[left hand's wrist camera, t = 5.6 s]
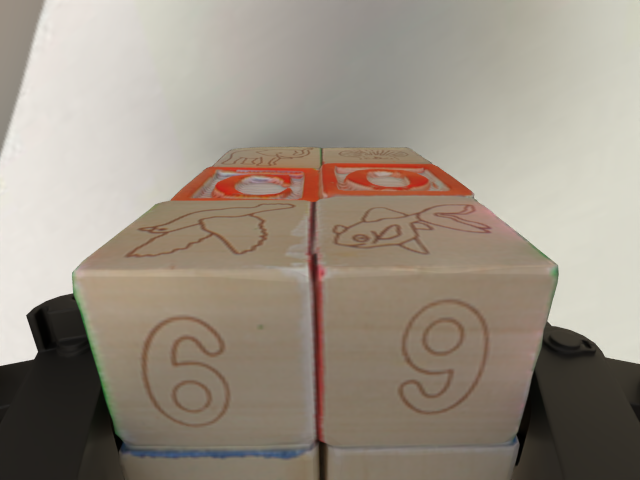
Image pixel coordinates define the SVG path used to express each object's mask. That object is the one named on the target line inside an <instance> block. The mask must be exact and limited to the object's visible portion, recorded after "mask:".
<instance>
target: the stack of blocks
mask: <svg viewBox="0 0 640 480" xmlns="http://www.w3.org/2000/svg"><path fill="white" fill-rule="evenodd" d="M558 275H559V273H558V265H557V264H556V263H555V262H553V261H552V260H551V259H550V258H548V257H547V256H546V255H545V254H543V253H542V252H541V251H540V250H538V249H537V248H536V247H535V246H533V245H532V244H531V243H530V242H529V241H527V240H526V239H525V238H524V237H523V236H521V235H520V234H519V233H518V232H516V231H515V230H514V229H513V228H511V227H510V226H509V225H507V224H506V223H505V222H503V221H502V220H501V219H500V218H498V217H497V216H496V215H495V214H494V213H492V212H491V211H490V210H489V209H488V208H486V207H485V206H484V205H482V204H480V203H479V202H478V201H477V200H475V199H474V193H473V192H472V191H471V190H469V189H468V188H467V187H465V186H464V185H463V184H461V183H460V182H459V181H457V180H456V179H455V178H453V177H452V176H450V175H449V174H447V173H446V172H444V171H443V170H442V169H440V168H439V167H438V166H435V165H433V164H432V163H431V162H429V161H428V160H426V159H425V158H423V157H422V156H421V155H419V154H417V153H416V152H414V151H413V150H412V149H410V148H316V147H254V148H238V149H233V150H230V151H229V152H227V153H226V154H225V155H224V156H223V157H222V158H220V159H219V160H218V161H217V162H216V163H215V164H214V165H213V166H212V167H209V168H206V169H205V170H203V172H202V173H200V174H199V175H198V176H197V177H195V178H194V179H193V180H192V181H191V182H190V183H188V184H187V185H186V186H185V187H183V188H182V189H181V190H180V191H179V192H178V193H177V194H176V195H175V196H174V197H173V198H172V199H171V200H170V201H166V202H162V203H159V204H155V205H154V206H153V207H152V208H151V209H150V210H149V211H147V212H146V213H145V214H143V215H142V216H141V217H140V218H138V219H137V220H136V221H134V222H133V223H132V224H130V225H129V226H128V227H126V228H125V229H124V230H122V231H121V232H120V233H119V234H117V235H116V236H115V237H114V238H112V239H111V240H110V241H108V242H107V243H106V244H105V245H103V246H102V247H101V248H99V249H98V250H97V251H95V252H94V253H93V254H91V255H90V256H89V257H88V258H86V259H85V260H84V261H83V262H82V263H81V264H80V265H79V266H78V267H77V268H76V269H75V270H74V271H73V273H72V281H73V294H74V297H75V299H76V302H77V305H78V307H79V310H80V313H81V317H82V320H83V324H84V327H85V330H86V334H87V337H88V341H89V344H90V348H91V351H92V354H93V357H94V361H95V364H96V367H97V371H98V374H99V377H100V381H101V385H102V389H103V393H104V397H105V400H106V404H107V407H108V410H109V413H110V415H111V418H112V420H113V425H114V430H115V434H116V435H117V436H118V437H119V438H120V439H121V440H122V441H123V442H122V445H121V448H120V451H119V460H120V466H121V469H122V472H123V475H124V478H125V480H511V478H512V474H513V470H514V466H515V463H516V459H517V455H518V450H519V446H520V444H519V441H518V438H517V435H516V434H517V432H518V429H519V426H520V422H521V419H522V415H523V412H524V408H525V404H526V401H527V397H528V393H529V389H530V384H531V379H532V375H533V372H534V368H535V365H536V362H537V359H538V356H539V353H540V350H541V347H542V339H543V331H544V328H545V325H546V322H547V320H548V316H549V312H550V308H551V304H552V301H553V297H554V294H555V290H556V286H557V282H558Z"/></svg>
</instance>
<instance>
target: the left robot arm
mask: <svg viewBox="0 0 640 480" xmlns="http://www.w3.org/2000/svg"><path fill="white" fill-rule="evenodd" d="M26 316H27V319H28V322H29V325H30V328H31V331H32V335H33V338H34V341H35V344H36V347H37V350H38V353H37V355H36V357H35V359H34V360H29V361H24V362H19V363H14V364H8V365H3V366H0V480H125V478H124V475H123V472H122V469H121V466H120V460H119V451H120V448H121V445H122V442H123V441H122V440H121V439H120V438H119V437H118V436H117V435H116V434H115V430H114V425H113V420H112V418H111V415H110V413H109V410H108V407H107V404H106V400H105V397H104V393H103V389H102V385H101V381H100V377H99V374H98V371H97V367H96V364H95V361H94V357H93V354H92V351H91V348H90V344H89V341H88V337H87V334H86V330H85V327H84V324H83V320H82V317H81V313H80V310H79V307H78V305H77V302H76V299H75V297H74V294H68V295H63V296H59V297H57V298H54V299H51V300H48V301H46V302H44V303H42V304H40V305H39V306H37V307H35V308H33V309H32V310H31V311H30V312H29V313H28V314H27V315H26ZM516 435H517V438H518V441H519V444H520V446H519V450H518V455H517V459H516V463H515V466H514V470H513V474H512V478H511V480H640V364H636V363H631V362H626V361H621V360H615V359H610V358H606V357H605V356H604V354H603V353H602V351H601V350H600V349H599V347H598V346H597V345H596V344H595V343H594V342H592V341H591V340H589V339H588V338H586V337H585V336H583V335H581V334H578V333H576V332H574V331H571V330H568V329H564V328H560V327H556V326H551V325H550V324H549V323H548V322H546V325H545V328H544V331H543V339H542V347H541V350H540V353H539V356H538V359H537V362H536V365H535V368H534V372H533V375H532V379H531V384H530V389H529V393H528V397H527V401H526V404H525V408H524V412H523V415H522V419H521V422H520V426H519V429H518V432H517V434H516Z"/></svg>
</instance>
